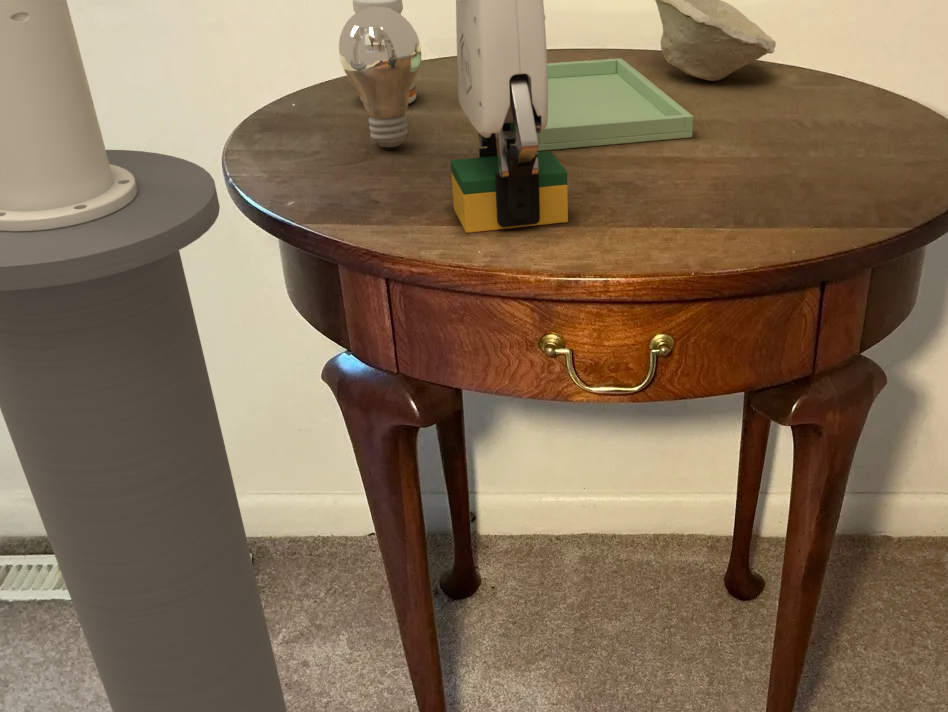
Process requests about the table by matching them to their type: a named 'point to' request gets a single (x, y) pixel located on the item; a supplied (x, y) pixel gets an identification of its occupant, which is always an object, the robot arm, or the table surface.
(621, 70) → the tray
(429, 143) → the table surface
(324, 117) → the table surface
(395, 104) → the light bulb
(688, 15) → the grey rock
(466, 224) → the sponge
